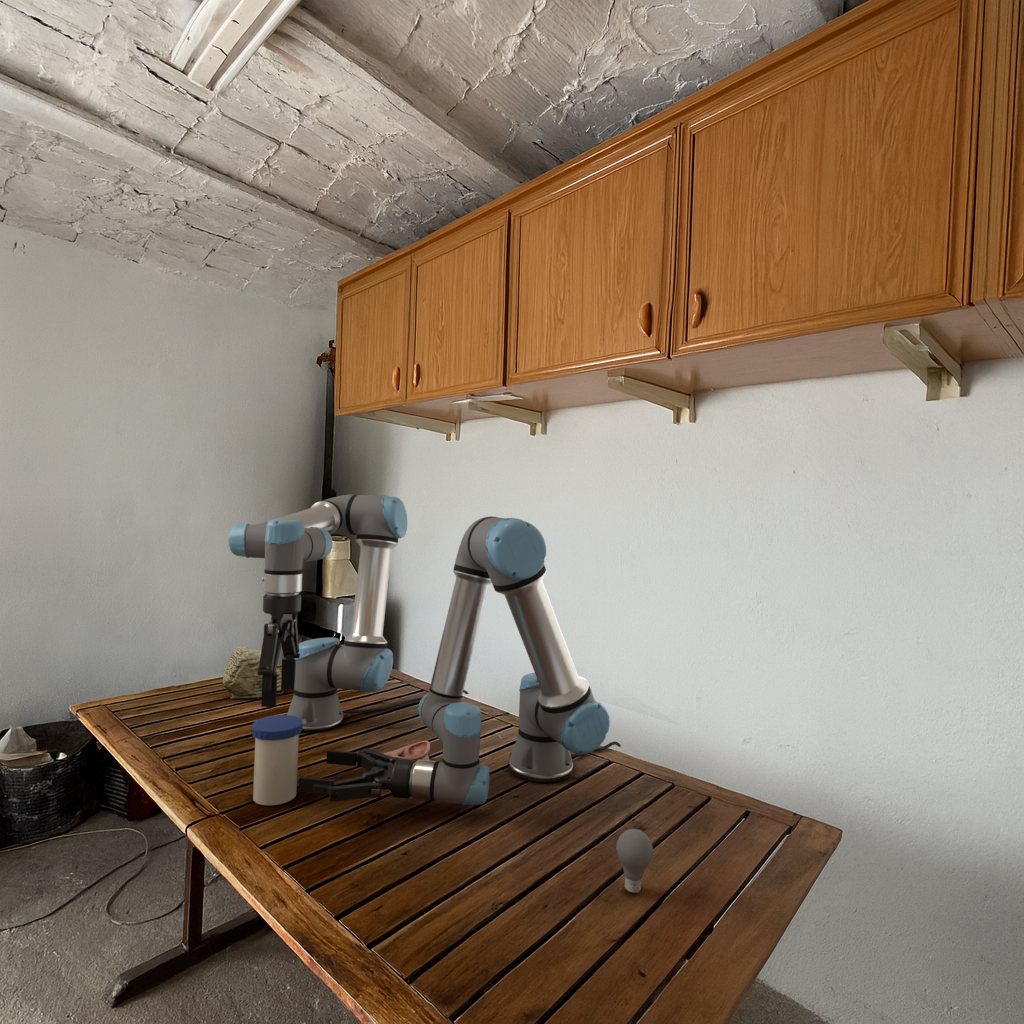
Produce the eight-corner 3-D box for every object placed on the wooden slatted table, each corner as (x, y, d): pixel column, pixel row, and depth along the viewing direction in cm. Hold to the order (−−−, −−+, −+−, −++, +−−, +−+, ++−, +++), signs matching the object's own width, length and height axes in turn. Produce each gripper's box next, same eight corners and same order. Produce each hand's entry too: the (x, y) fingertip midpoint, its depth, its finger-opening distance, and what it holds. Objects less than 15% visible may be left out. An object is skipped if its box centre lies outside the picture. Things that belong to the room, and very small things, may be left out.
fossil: (218, 695, 195) (220, 647, 195) (278, 685, 208) (279, 640, 207) (228, 703, 189) (230, 653, 188) (289, 692, 201) (290, 645, 201)
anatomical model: (365, 751, 148) (384, 733, 160) (364, 767, 148) (384, 749, 160) (419, 758, 146) (435, 740, 157) (418, 775, 146) (434, 756, 157)
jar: (302, 786, 138) (304, 718, 138) (288, 806, 129) (291, 733, 129) (262, 785, 138) (264, 717, 137) (245, 804, 129) (248, 731, 129)
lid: (308, 724, 138) (308, 715, 138) (293, 741, 128) (293, 732, 128) (262, 722, 138) (263, 714, 138) (243, 739, 128) (244, 730, 128)
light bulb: (610, 879, 108) (613, 822, 108) (644, 879, 109) (647, 822, 109) (619, 902, 102) (622, 840, 102) (655, 901, 103) (658, 840, 103)
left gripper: (282, 585, 144) (279, 680, 145) (242, 601, 121) (238, 715, 121) (316, 586, 145) (312, 681, 145) (282, 603, 121) (277, 717, 121)
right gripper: (394, 828, 117) (285, 817, 120) (427, 771, 142) (336, 763, 144) (396, 788, 117) (286, 777, 119) (428, 738, 142) (337, 730, 144)
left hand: (278, 697), depth 133 cm, fingers open, 11 cm apart
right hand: (313, 769), depth 132 cm, fingers open, 13 cm apart
